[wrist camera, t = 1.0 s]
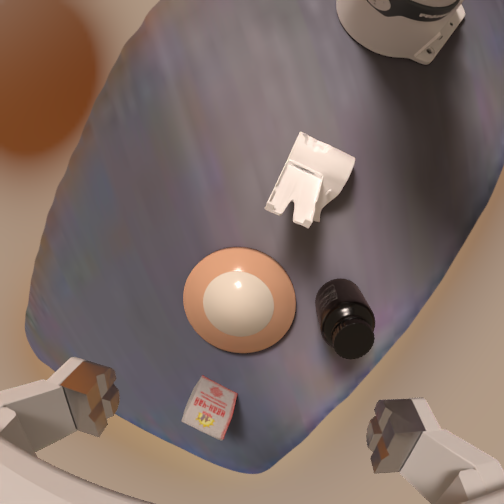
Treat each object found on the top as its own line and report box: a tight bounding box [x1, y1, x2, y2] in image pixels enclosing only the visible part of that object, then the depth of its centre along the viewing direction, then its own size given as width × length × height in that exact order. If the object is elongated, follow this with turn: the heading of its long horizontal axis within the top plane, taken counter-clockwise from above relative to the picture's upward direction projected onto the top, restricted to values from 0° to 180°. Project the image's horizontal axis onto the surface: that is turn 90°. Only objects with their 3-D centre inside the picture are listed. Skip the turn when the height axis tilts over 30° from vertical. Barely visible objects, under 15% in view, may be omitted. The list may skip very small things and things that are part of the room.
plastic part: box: [265, 132, 355, 229], centre depth 35 cm, size 8×10×12 cm
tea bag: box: [182, 375, 237, 441], centre depth 46 cm, size 4×7×10 cm, turn 60°
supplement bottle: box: [315, 279, 375, 359], centre depth 39 cm, size 7×7×12 cm
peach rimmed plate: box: [183, 247, 296, 353], centre depth 45 cm, size 16×16×2 cm
